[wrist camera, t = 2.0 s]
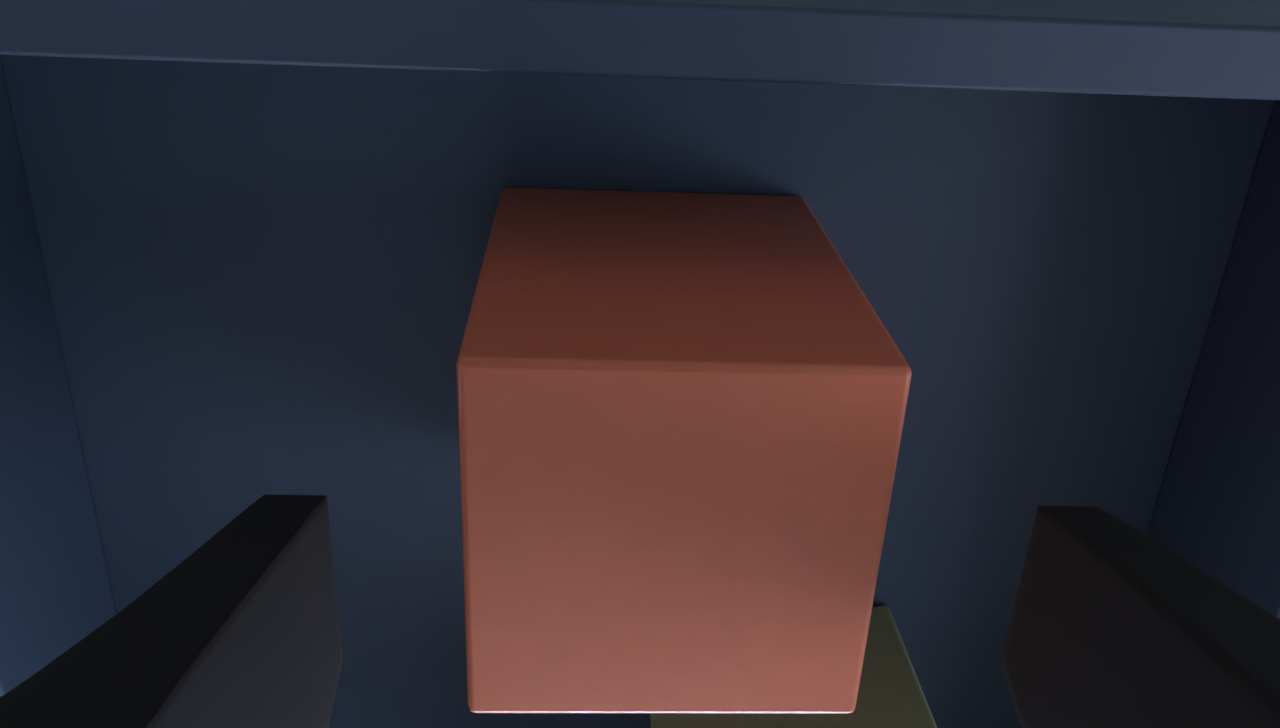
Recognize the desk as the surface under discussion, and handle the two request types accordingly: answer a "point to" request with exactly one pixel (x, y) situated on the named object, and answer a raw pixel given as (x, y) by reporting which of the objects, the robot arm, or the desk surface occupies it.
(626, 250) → the coral block
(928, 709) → the sage block
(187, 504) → the tote
